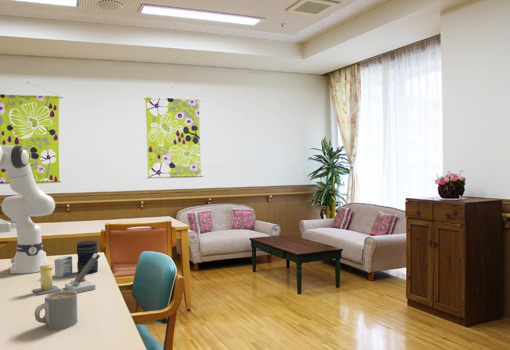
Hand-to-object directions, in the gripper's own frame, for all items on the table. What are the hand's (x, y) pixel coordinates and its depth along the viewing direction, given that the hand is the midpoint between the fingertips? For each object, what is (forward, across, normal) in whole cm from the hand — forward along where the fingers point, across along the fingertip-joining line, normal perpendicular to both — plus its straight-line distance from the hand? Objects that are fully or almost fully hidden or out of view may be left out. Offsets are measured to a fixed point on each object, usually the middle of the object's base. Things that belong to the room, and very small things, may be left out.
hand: (18, 223), depth 181 cm
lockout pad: (+10, 0, +30) cm, 32 cm away
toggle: (+20, -7, +27) cm, 34 cm away
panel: (+22, -6, +30) cm, 38 cm away
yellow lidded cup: (+10, 0, +29) cm, 31 cm away
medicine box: (+24, +24, +30) cm, 45 cm away
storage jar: (+35, +22, +30) cm, 51 cm away
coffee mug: (+1, -46, +30) cm, 55 cm away
